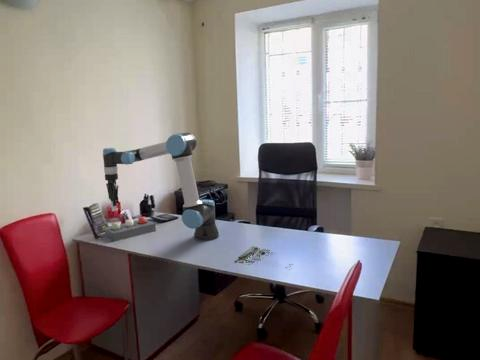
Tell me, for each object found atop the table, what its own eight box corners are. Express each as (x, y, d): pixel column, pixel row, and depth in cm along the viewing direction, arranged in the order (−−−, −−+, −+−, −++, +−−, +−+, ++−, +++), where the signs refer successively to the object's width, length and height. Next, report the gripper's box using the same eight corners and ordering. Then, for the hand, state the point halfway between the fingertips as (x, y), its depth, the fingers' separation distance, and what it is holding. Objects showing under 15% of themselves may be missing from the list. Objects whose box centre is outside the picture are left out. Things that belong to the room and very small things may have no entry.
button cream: (135, 227, 242) (134, 220, 241) (127, 228, 239) (127, 222, 238) (131, 225, 246) (131, 219, 245) (124, 227, 242) (123, 220, 242)
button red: (147, 224, 248) (147, 217, 247) (140, 225, 245) (140, 219, 244) (144, 222, 252) (143, 216, 251) (137, 224, 248) (136, 217, 248)
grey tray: (155, 230, 246) (155, 223, 245) (114, 241, 228) (113, 233, 227) (144, 226, 258) (143, 218, 257) (104, 235, 240) (103, 228, 239)
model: (290, 272, 177) (290, 269, 177) (234, 262, 191) (234, 259, 190) (304, 257, 196) (304, 254, 195) (252, 249, 209) (252, 246, 209)
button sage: (121, 230, 236) (121, 223, 235) (114, 232, 233) (113, 225, 232) (118, 228, 240) (117, 221, 239) (110, 230, 237) (110, 223, 236)
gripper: (121, 173, 228) (124, 211, 232) (112, 171, 237) (115, 207, 241) (109, 175, 223) (112, 213, 227) (100, 173, 232) (104, 210, 237)
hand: (114, 210), depth 234 cm, fingers closed
